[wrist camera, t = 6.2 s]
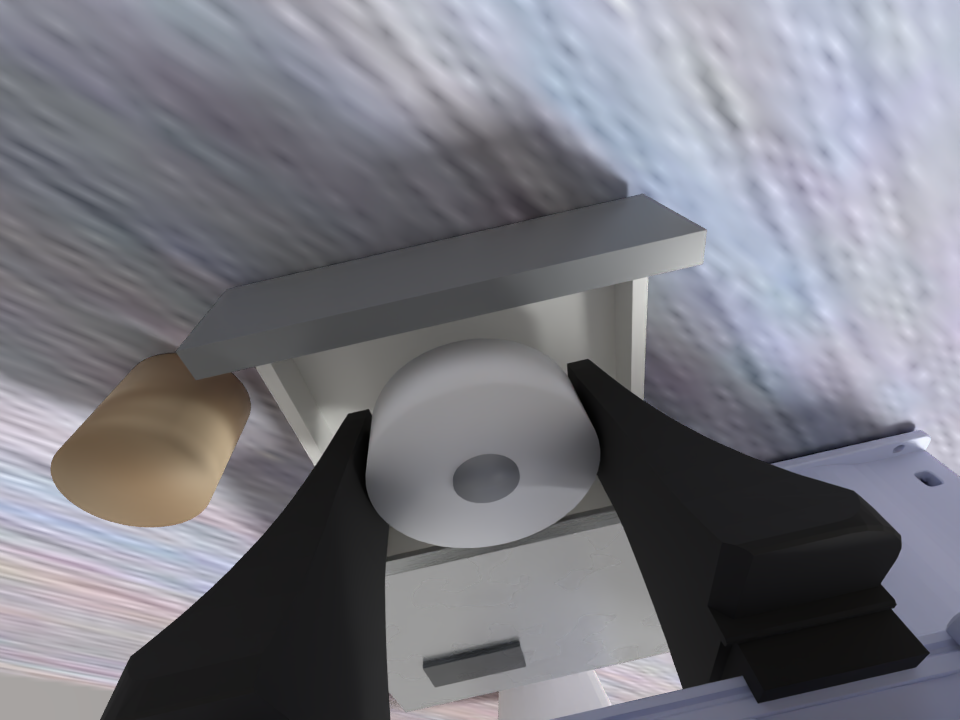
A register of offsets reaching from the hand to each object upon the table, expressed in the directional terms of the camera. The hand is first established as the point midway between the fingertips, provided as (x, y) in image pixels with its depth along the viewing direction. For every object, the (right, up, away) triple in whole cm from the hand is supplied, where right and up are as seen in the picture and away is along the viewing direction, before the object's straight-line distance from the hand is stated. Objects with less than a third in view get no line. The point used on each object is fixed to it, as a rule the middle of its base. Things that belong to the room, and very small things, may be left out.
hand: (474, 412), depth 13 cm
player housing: (+2, -7, +8) cm, 10 cm away
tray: (0, 0, +3) cm, 3 cm away
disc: (0, 0, -1) cm, 1 cm away
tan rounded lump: (-9, 0, +2) cm, 9 cm away
